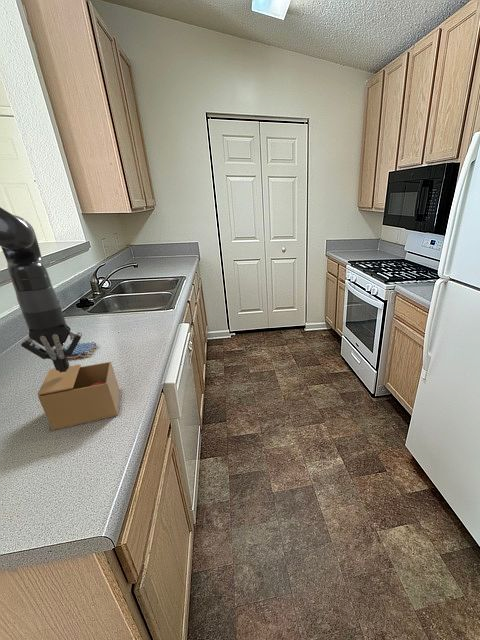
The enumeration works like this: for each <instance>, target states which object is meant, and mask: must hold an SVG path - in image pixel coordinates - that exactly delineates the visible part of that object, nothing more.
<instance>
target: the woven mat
mask: <svg viewBox="0 0 480 640" xmlns="http://www.w3.org/2000/svg"><path fill="white" fill-rule="evenodd" d="M70 344H71V343H69V344H68V345H66V346H65V350H66V349H68V348H69V346H70ZM97 348H98V344H97V342H94V341H92V342H86V343H85V342H82V343H81V342H78V344H77V346H76V347H75V349H74V351H73V353H72V354H71V355H70V356H66V357H67V359H77V358H80V357H82V358H89V357H90V355H92V354H93V351H95V350H94V349H97Z"/></svg>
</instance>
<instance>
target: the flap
mask: <svg viewBox="0 0 480 640" xmlns="http://www.w3.org/2000/svg"><path fill="white" fill-rule="evenodd" d="M80 367H82V365H81V364H80V363H79V364H75V365H74V364H73V365H69V368H68V369H67V371H66V372H59V371H57V370H56V369H55V368H50V369H49V370H48V371H47V374H46V375H45V377H44V380H43V382H42V384H41V386H40V387H39V390H38V391H37V396H39V395H42V394H47V393H53V392H58V391H63V390H68V389H73V387H74V384H75V381H76V378H77V375H78V372H79V369H80Z"/></svg>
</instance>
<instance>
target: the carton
mask: <svg viewBox="0 0 480 640" xmlns="http://www.w3.org/2000/svg"><path fill="white" fill-rule="evenodd" d="M98 382H105V384H100V385H95V386H91V385H92V384H94V383H98ZM120 393H121V392H120V386H119V384H118V381H117V378H116V374H115V371H114V367H113V364H112V361H108V362H101V363H96V364H89V365H84V366H80V369H79V372H78V375H77V378H76V381H75V384H74V387H73V389H68V390H63V391H58V392H53V393H47V394H42V395H37V396H38V397H37V398H38V400H39V402H40V405H41V407H42V409H43V412H44V414H45V416H46V418H47V421H48V423H49V426H50V428H51V430H52V431H55V430H59V429H63V428H68V427H73V426H77V425H82V424H86V423H90V422H95V421H98V420H103V419H108V418H113V417H117V416H118V414H119V402H120Z"/></svg>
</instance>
